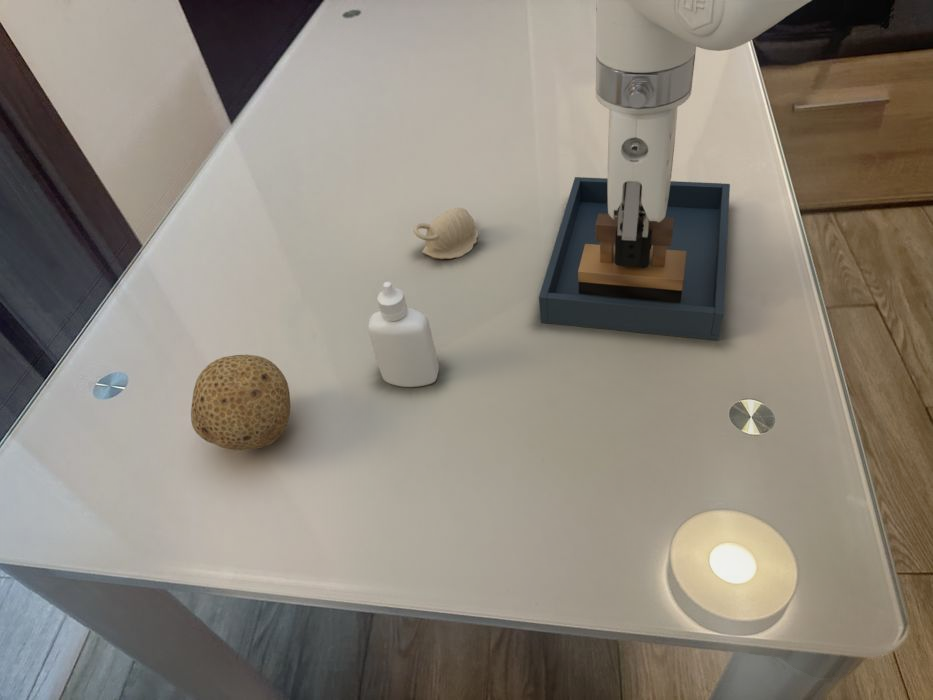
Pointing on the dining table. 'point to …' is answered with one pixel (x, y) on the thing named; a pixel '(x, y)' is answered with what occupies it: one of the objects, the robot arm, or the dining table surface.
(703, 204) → the tray
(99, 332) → the dining table surface
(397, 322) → the eye dropper bottle
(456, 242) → the decorative ornament
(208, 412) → the natural sponge
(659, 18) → the robot arm
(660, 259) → the brush
